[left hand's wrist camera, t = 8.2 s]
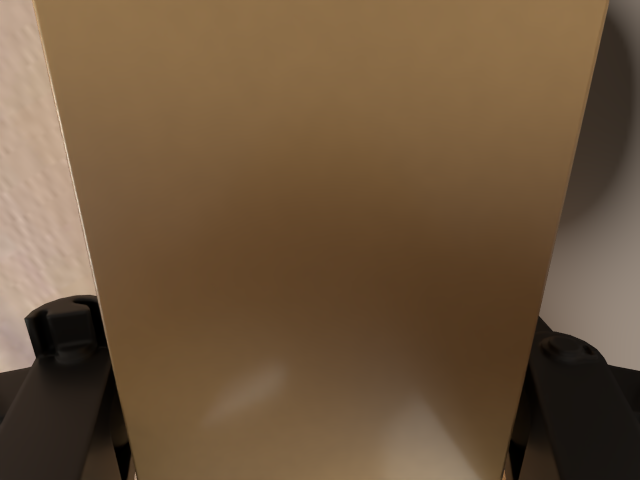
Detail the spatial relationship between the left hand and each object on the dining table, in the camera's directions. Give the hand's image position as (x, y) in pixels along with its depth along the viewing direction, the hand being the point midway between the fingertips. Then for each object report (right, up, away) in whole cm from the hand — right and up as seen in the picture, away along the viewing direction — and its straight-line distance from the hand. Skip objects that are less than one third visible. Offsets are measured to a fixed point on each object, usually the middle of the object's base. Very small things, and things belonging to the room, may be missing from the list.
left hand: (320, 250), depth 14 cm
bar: (0, +8, -2) cm, 8 cm away
